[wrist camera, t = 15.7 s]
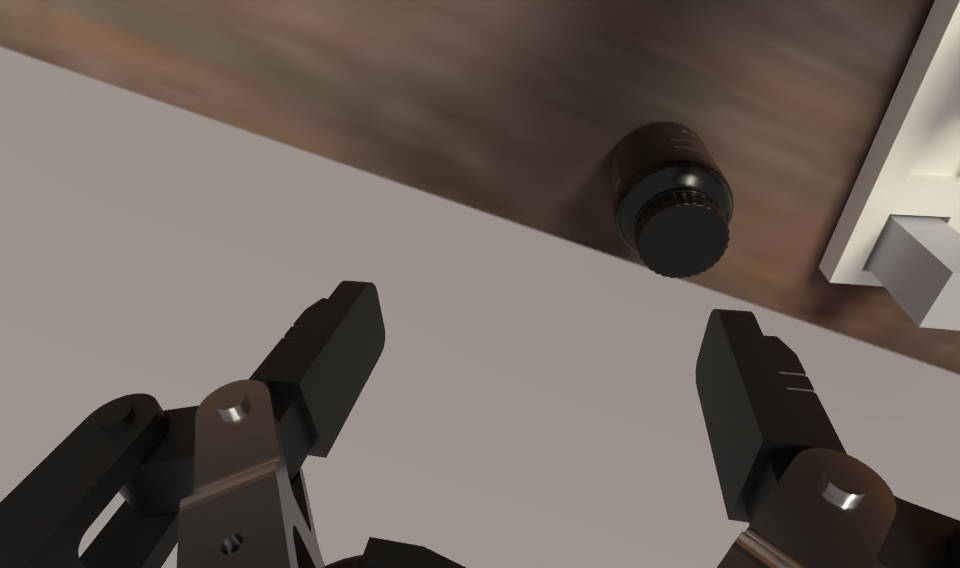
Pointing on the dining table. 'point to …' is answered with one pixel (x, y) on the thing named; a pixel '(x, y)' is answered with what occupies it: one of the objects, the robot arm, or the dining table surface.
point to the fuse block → (907, 152)
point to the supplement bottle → (670, 200)
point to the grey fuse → (920, 268)
